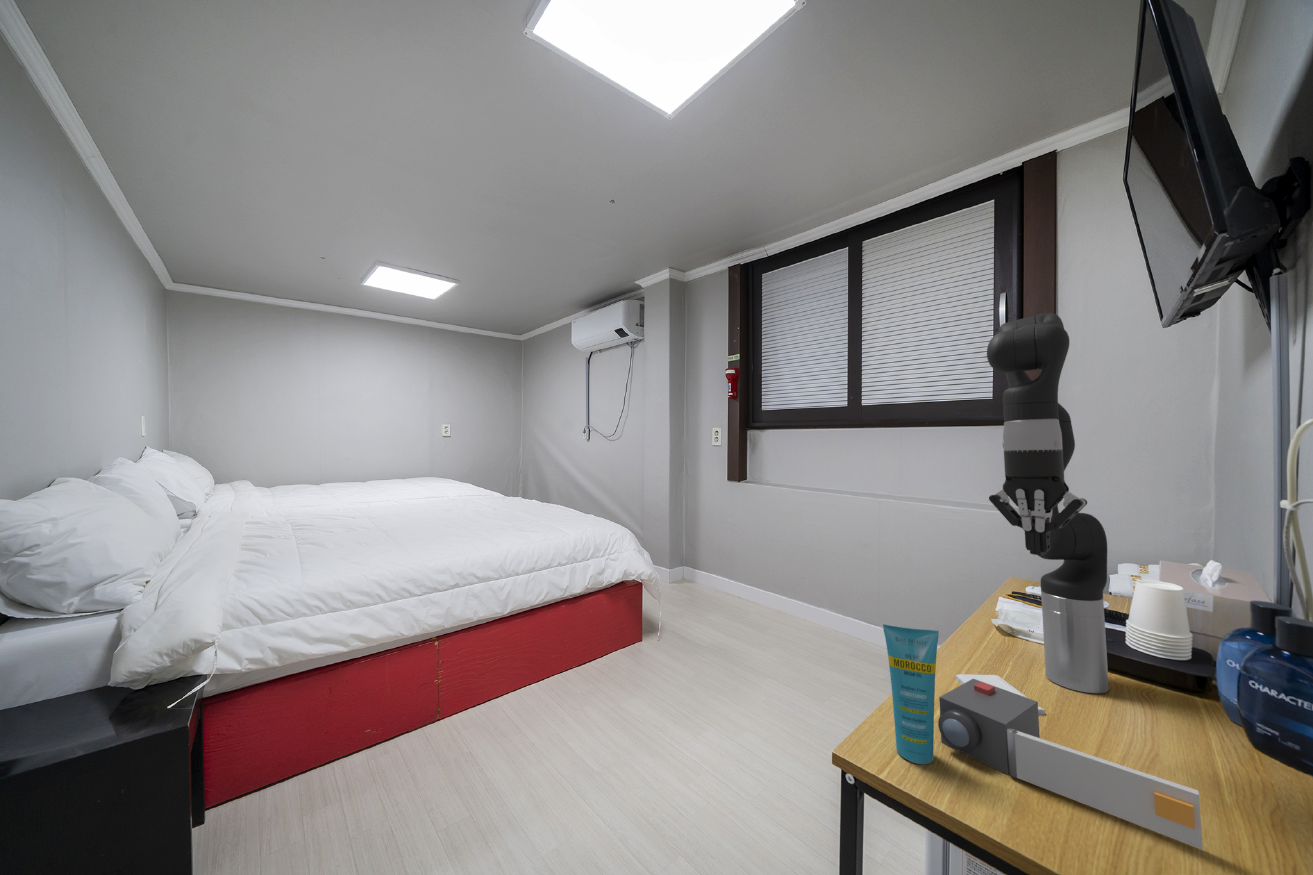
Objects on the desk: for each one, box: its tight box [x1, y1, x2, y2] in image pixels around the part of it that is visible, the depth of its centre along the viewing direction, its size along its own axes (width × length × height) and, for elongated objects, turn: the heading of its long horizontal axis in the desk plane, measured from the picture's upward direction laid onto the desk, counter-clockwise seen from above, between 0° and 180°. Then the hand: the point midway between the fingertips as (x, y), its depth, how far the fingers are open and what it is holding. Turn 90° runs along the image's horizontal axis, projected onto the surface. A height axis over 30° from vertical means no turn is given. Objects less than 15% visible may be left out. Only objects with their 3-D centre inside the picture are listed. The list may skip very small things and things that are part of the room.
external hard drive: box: [955, 673, 1046, 716], centre depth 86 cm, size 2×8×12 cm
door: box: [1007, 728, 1204, 851], centre depth 58 cm, size 18×2×6 cm, turn 44°
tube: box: [882, 623, 939, 765], centre depth 70 cm, size 7×5×19 cm, turn 69°
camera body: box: [937, 679, 1041, 776], centre depth 71 cm, size 13×9×8 cm
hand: (1038, 554), depth 75 cm, fingers closed
